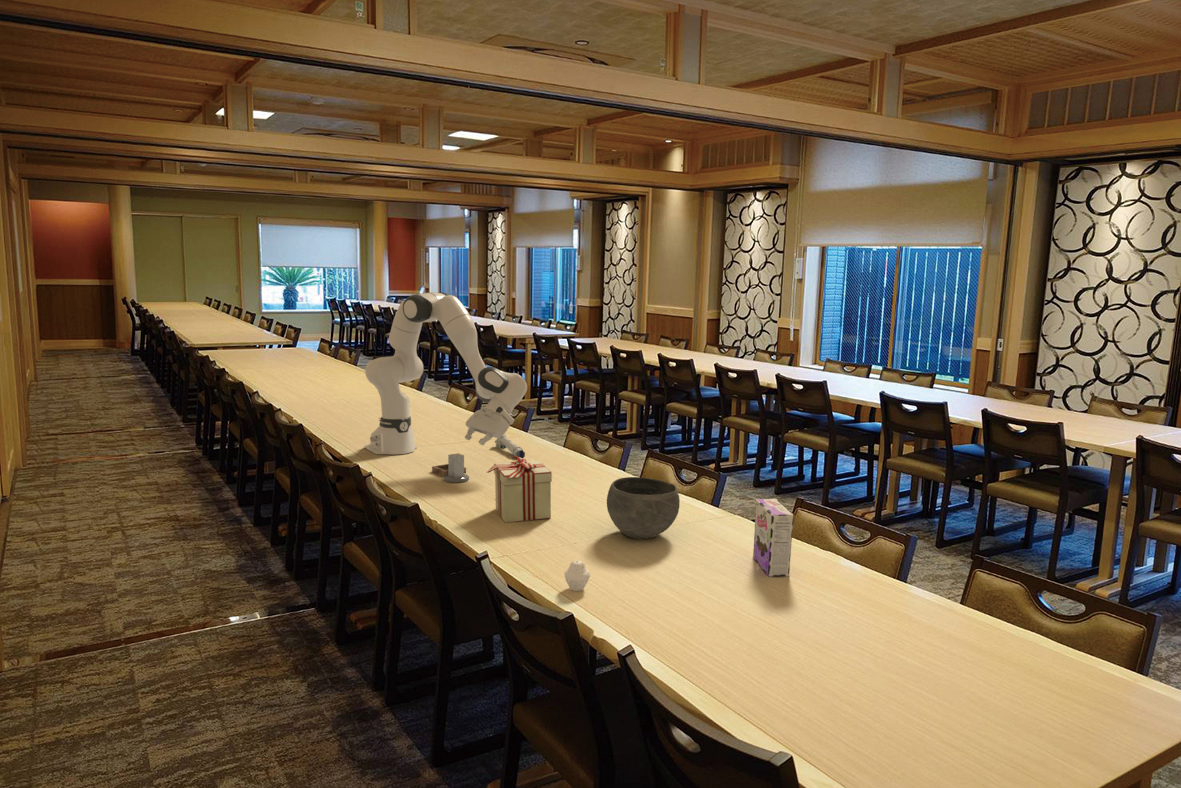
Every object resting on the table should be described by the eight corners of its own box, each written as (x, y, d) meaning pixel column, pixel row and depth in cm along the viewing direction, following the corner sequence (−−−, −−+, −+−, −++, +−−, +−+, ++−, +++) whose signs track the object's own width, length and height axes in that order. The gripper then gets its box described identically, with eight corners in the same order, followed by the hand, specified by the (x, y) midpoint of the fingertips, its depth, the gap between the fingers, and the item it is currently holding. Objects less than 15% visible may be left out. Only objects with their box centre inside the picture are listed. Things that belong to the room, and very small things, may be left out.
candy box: (752, 557, 214) (755, 498, 212) (773, 557, 215) (777, 498, 212) (767, 577, 201) (771, 514, 198) (790, 577, 201) (794, 513, 199)
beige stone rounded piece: (559, 591, 189) (560, 563, 188) (569, 582, 195) (570, 554, 194) (584, 595, 187) (584, 567, 186) (593, 586, 193) (594, 558, 192)
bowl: (657, 553, 216) (659, 499, 214) (591, 537, 227) (592, 486, 225) (690, 532, 234) (692, 482, 231) (627, 519, 245) (629, 471, 242)
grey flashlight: (514, 450, 317) (493, 430, 338) (513, 466, 318) (492, 444, 340) (527, 449, 319) (505, 429, 340) (526, 465, 321) (504, 444, 342)
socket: (432, 471, 296) (432, 466, 296) (453, 468, 302) (453, 463, 301) (444, 476, 289) (444, 471, 289) (466, 473, 295) (466, 467, 295)
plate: (438, 479, 286) (438, 476, 285) (459, 475, 292) (459, 472, 292) (453, 484, 279) (453, 481, 279) (474, 480, 286) (474, 477, 286)
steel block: (448, 476, 286) (448, 454, 285) (458, 474, 288) (458, 453, 287) (454, 478, 283) (454, 456, 282) (464, 477, 285) (463, 455, 284)
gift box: (482, 510, 251) (482, 456, 248) (537, 504, 258) (538, 452, 256) (498, 526, 236) (498, 469, 233) (556, 520, 243) (557, 464, 240)
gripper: (475, 402, 299) (453, 431, 294) (507, 410, 284) (483, 441, 279) (486, 413, 303) (463, 441, 298) (517, 421, 287) (494, 452, 283)
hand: (473, 441), depth 288 cm, fingers open, 8 cm apart
